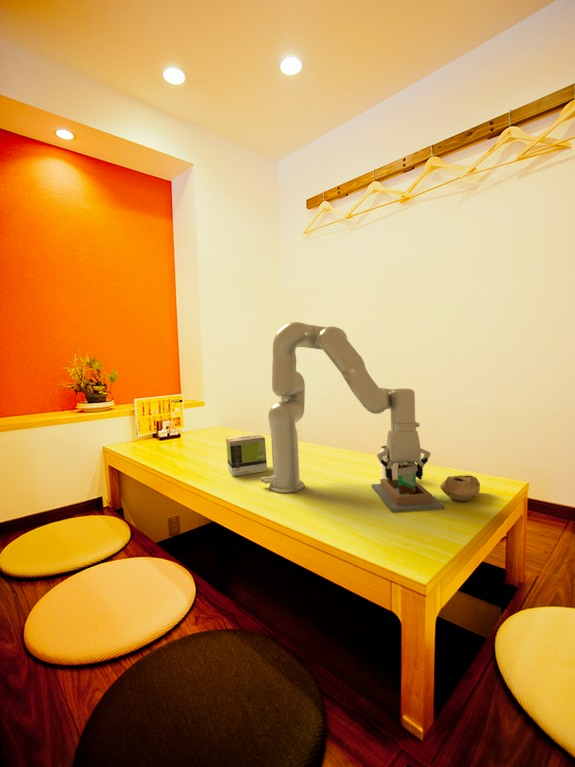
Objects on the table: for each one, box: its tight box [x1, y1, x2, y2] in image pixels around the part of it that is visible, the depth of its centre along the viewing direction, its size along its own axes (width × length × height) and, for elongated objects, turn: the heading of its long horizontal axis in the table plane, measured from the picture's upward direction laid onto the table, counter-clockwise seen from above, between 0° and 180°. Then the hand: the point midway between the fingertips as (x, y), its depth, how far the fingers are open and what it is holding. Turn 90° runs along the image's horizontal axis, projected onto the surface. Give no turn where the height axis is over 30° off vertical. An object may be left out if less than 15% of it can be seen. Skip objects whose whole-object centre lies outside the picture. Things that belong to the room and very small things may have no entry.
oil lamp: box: [439, 474, 481, 502], centre depth 120 cm, size 11×15×8 cm
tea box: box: [225, 433, 268, 477], centre depth 158 cm, size 15×10×15 cm
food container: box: [397, 462, 418, 495], centre depth 121 cm, size 12×6×10 cm, turn 162°
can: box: [379, 445, 398, 479], centre depth 141 cm, size 6×6×12 cm
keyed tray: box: [371, 478, 445, 513], centre depth 122 cm, size 16×22×4 cm
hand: (404, 478), depth 122 cm, fingers open, 9 cm apart
